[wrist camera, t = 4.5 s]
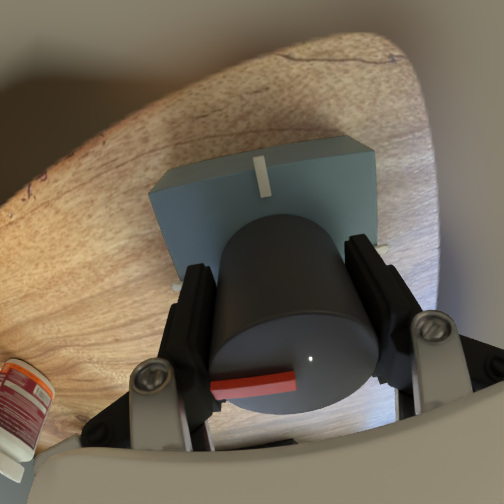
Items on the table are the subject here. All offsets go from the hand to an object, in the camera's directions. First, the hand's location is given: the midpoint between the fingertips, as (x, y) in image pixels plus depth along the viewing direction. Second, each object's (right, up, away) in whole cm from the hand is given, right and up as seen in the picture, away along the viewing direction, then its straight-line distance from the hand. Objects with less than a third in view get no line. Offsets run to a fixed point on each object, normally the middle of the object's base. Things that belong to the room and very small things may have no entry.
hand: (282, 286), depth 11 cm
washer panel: (0, +2, +4) cm, 4 cm away
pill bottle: (-23, -11, +11) cm, 28 cm away
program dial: (0, +1, +1) cm, 1 cm away
